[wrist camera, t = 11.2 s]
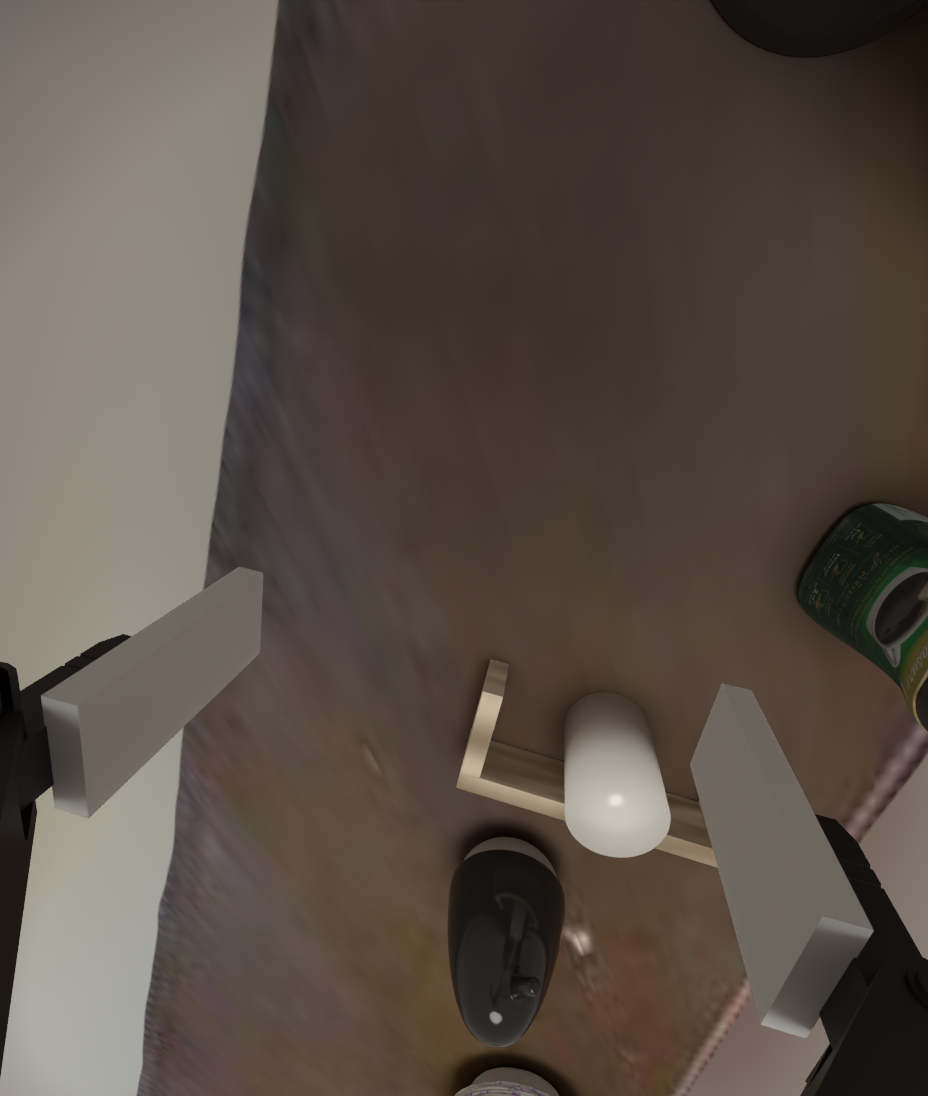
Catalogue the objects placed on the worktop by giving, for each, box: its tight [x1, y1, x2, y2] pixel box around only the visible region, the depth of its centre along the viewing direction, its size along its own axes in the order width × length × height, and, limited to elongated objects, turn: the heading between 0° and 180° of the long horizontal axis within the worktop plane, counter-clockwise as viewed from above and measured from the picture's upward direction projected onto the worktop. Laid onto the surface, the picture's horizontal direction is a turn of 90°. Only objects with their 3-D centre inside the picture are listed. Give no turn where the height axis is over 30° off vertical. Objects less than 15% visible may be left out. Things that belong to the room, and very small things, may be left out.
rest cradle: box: [456, 659, 718, 867], centre depth 46 cm, size 10×22×5 cm, turn 77°
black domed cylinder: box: [448, 837, 565, 1047], centre depth 47 cm, size 10×10×15 cm
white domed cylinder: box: [564, 692, 671, 858], centre depth 43 cm, size 7×7×10 cm
